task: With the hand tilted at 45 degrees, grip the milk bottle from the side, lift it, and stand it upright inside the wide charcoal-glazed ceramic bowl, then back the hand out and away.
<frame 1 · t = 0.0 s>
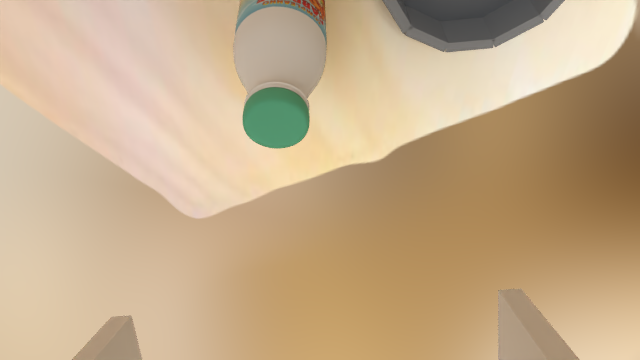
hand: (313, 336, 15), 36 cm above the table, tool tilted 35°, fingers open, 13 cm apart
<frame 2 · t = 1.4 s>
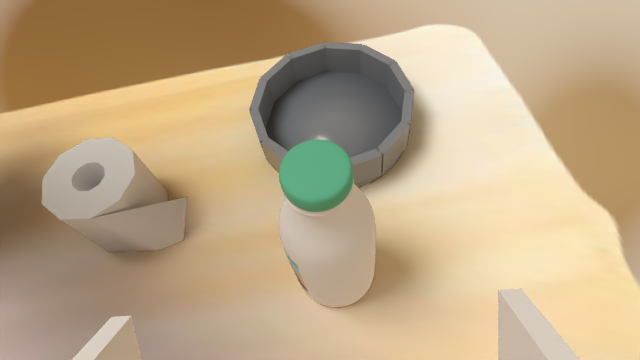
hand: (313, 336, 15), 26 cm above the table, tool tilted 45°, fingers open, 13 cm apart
bowl: (333, 126, 52), on the table
toilet tissue: (141, 219, 48), on the table
milk bottle: (336, 270, 43), on the table
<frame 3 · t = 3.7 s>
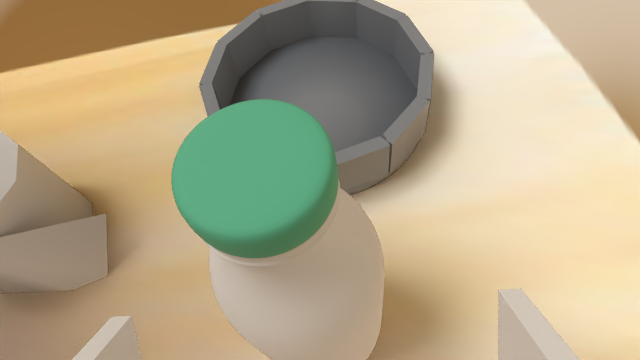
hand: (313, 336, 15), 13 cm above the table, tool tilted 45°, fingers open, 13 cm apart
bowl: (321, 109, 38), on the table
toilet tissue: (51, 243, 34), on the table
milk bottle: (323, 319, 29), on the table
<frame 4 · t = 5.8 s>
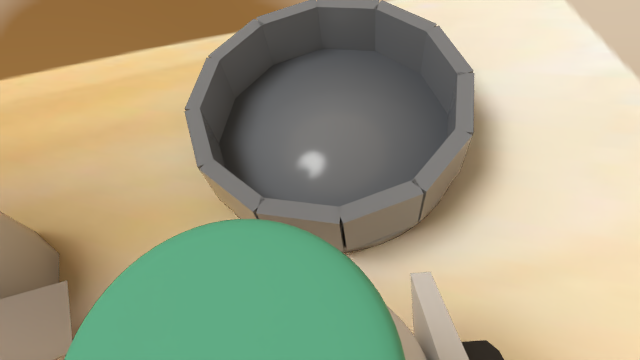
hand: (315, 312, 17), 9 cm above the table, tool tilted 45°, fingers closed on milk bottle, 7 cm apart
bowl: (332, 137, 31), on the table
toilet tissue: (7, 305, 28), on the table
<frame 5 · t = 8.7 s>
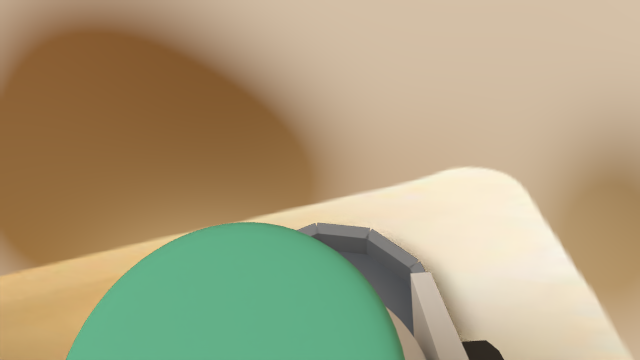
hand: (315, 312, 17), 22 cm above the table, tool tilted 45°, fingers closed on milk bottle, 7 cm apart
bowl: (333, 342, 37), on the table
when the fingers open (11 cm above the table, at t = 11.7 s): milk bottle drops 1 cm, resting on bowl.
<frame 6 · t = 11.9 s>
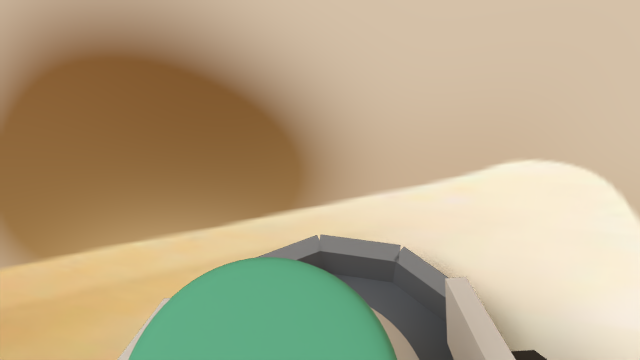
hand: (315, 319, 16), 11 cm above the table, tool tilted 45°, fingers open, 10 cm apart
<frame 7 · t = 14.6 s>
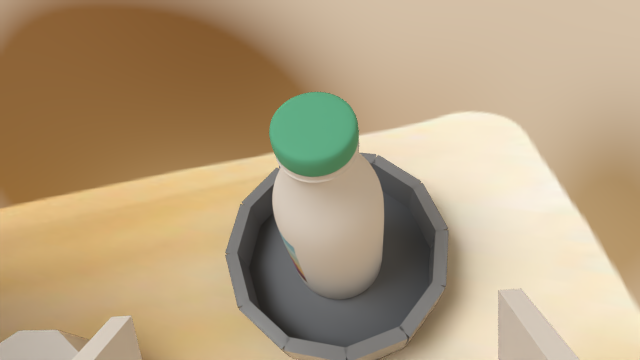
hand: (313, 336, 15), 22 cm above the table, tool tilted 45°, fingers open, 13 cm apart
bowl: (339, 261, 39), on the table
milk bottle: (339, 259, 39), point 1 cm above the table, touching bowl
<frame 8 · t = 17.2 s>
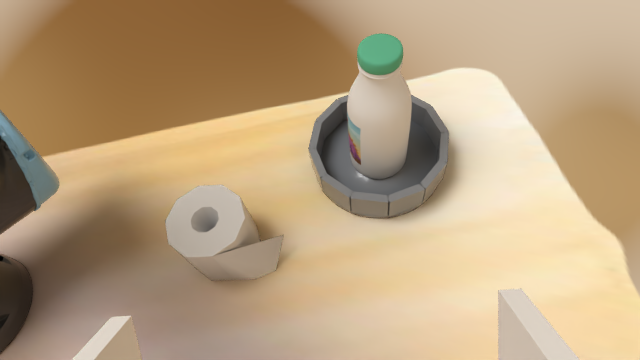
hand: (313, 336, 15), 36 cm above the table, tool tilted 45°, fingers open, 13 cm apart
bowl: (377, 160, 60), on the table
toilet tissue: (235, 251, 56), on the table
milk bottle: (378, 158, 60), point 1 cm above the table, touching bowl
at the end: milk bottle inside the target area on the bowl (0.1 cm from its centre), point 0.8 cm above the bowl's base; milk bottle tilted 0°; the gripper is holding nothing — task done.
